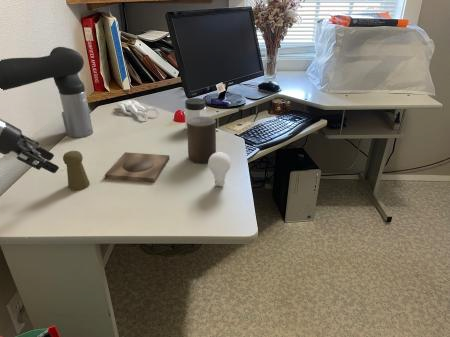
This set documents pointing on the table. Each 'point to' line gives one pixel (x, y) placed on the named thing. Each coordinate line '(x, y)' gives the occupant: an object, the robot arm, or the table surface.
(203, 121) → the pillar candle
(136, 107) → the superhero figure
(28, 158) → the robot arm
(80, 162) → the cork
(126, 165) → the walnut board
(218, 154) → the light bulb
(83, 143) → the table surface
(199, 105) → the jar
